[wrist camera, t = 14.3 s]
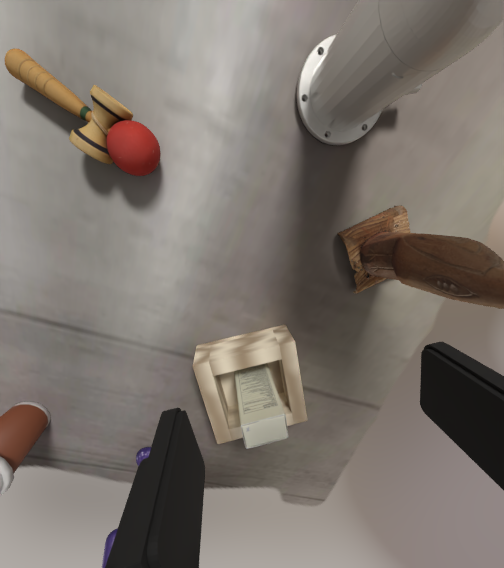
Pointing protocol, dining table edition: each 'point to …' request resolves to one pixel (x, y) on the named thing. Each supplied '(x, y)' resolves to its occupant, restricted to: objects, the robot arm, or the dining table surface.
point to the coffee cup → (19, 437)
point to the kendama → (94, 119)
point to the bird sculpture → (424, 260)
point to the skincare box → (259, 407)
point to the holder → (242, 354)
